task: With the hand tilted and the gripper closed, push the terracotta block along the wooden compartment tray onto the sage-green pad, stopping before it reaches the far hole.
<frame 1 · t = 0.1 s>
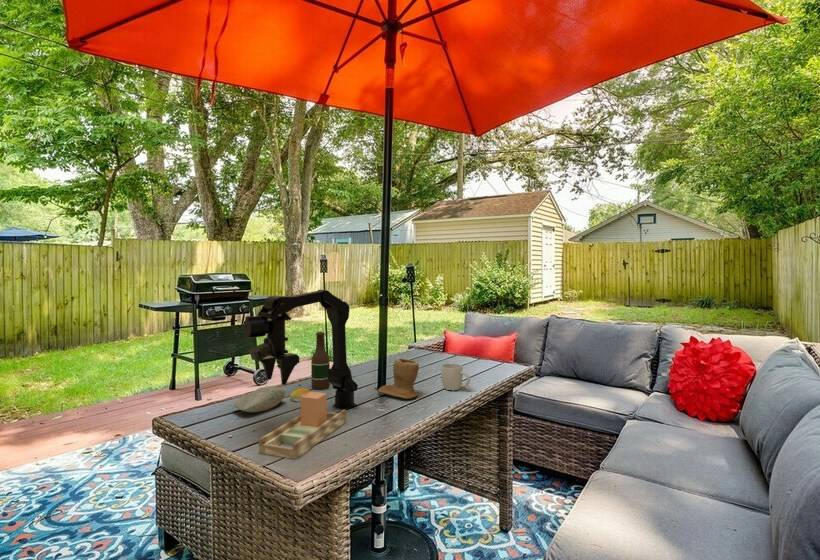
hand: (276, 382, 143), 15 cm above the table, tool pointing down, fingers open, 9 cm apart
terracotta block: (314, 423, 139), point 2 cm above the table, touching wooden compartment tray
mug: (455, 390, 185), on the table
rock: (261, 409, 161), on the table
bread roll: (301, 399, 173), on the table
wooden compartment tray: (306, 435, 135), on the table
beer bottle: (320, 388, 188), on the table
brown boot: (401, 396, 177), on the table
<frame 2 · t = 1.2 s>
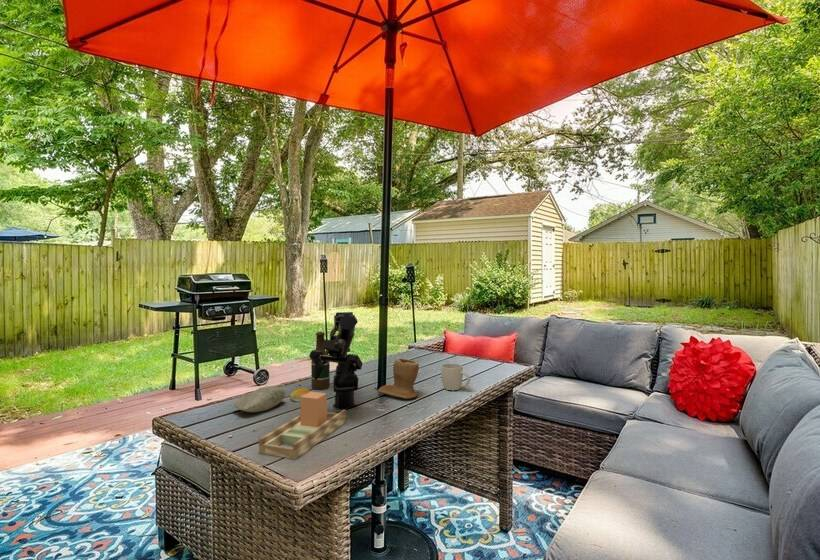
hand: (326, 381, 148), 13 cm above the table, tool tilted 45°, fingers open, 9 cm apart
nothing on the table moved.
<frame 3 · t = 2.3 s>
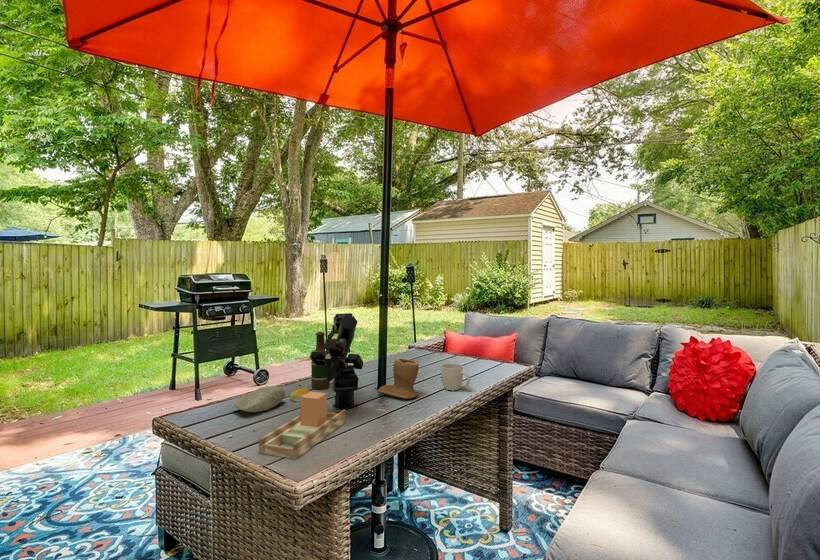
hand: (328, 381, 148), 14 cm above the table, tool tilted 45°, fingers closed
nothing on the table moved.
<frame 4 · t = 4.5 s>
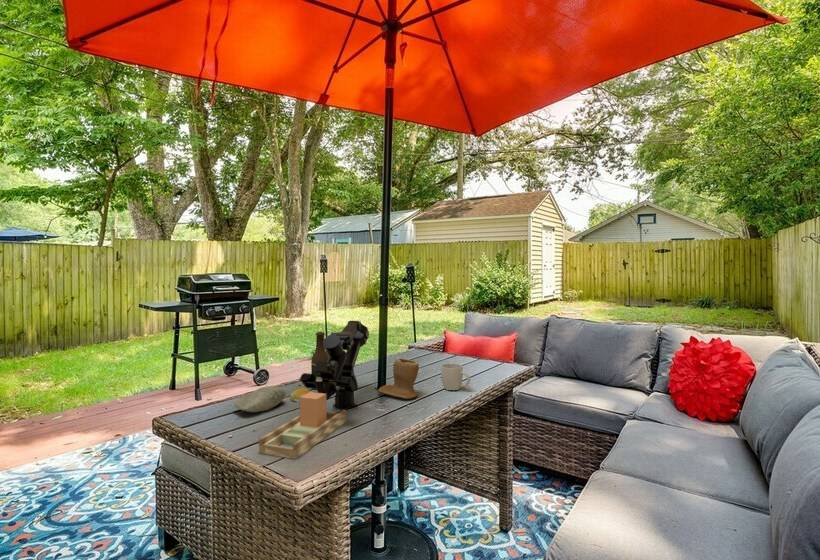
hand: (318, 405, 142), 7 cm above the table, tool tilted 45°, fingers closed, pressing on terracotta block
terracotta block: (313, 423, 139), point 3 cm above the table, touching gripper
everything else where it was.
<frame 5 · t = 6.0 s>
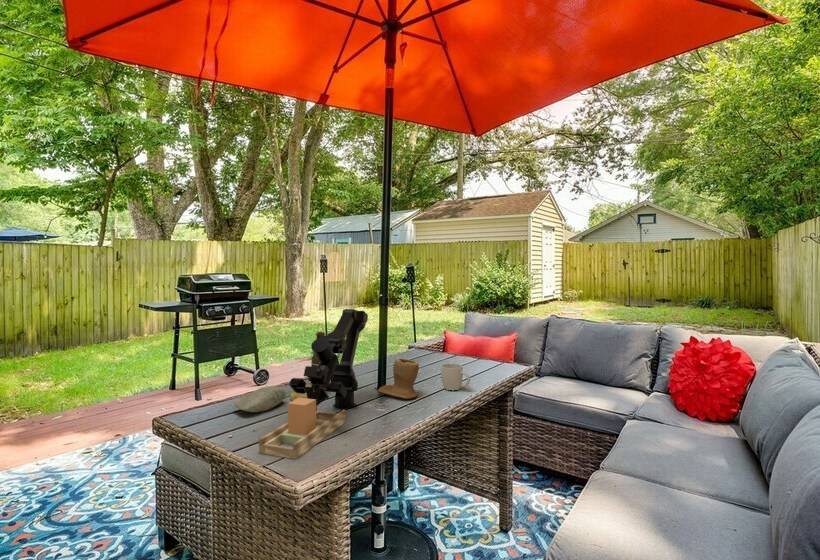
hand: (308, 412, 136), 7 cm above the table, tool tilted 45°, fingers closed, pressing on terracotta block
terracotta block: (302, 430, 133), point 3 cm above the table, touching gripper, wooden compartment tray
everything else where it was.
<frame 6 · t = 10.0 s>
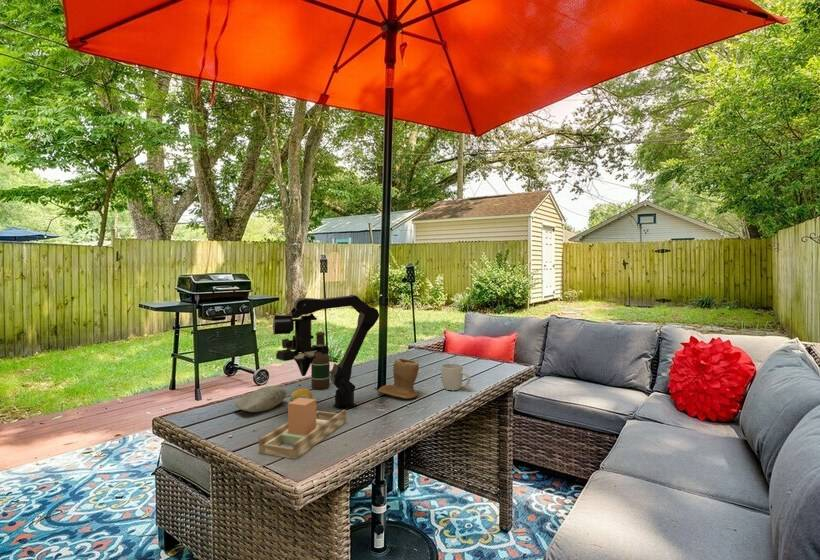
hand: (303, 375, 157), 13 cm above the table, tool pointing down, fingers closed
terracotta block: (302, 430, 133), point 2 cm above the table, touching wooden compartment tray
everything else where it was.
at the end: terracotta block inside the target area on the wooden compartment tray (0.5 cm from its centre), point 2.5 cm above the wooden compartment tray's base; terracotta block tilted 0° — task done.
